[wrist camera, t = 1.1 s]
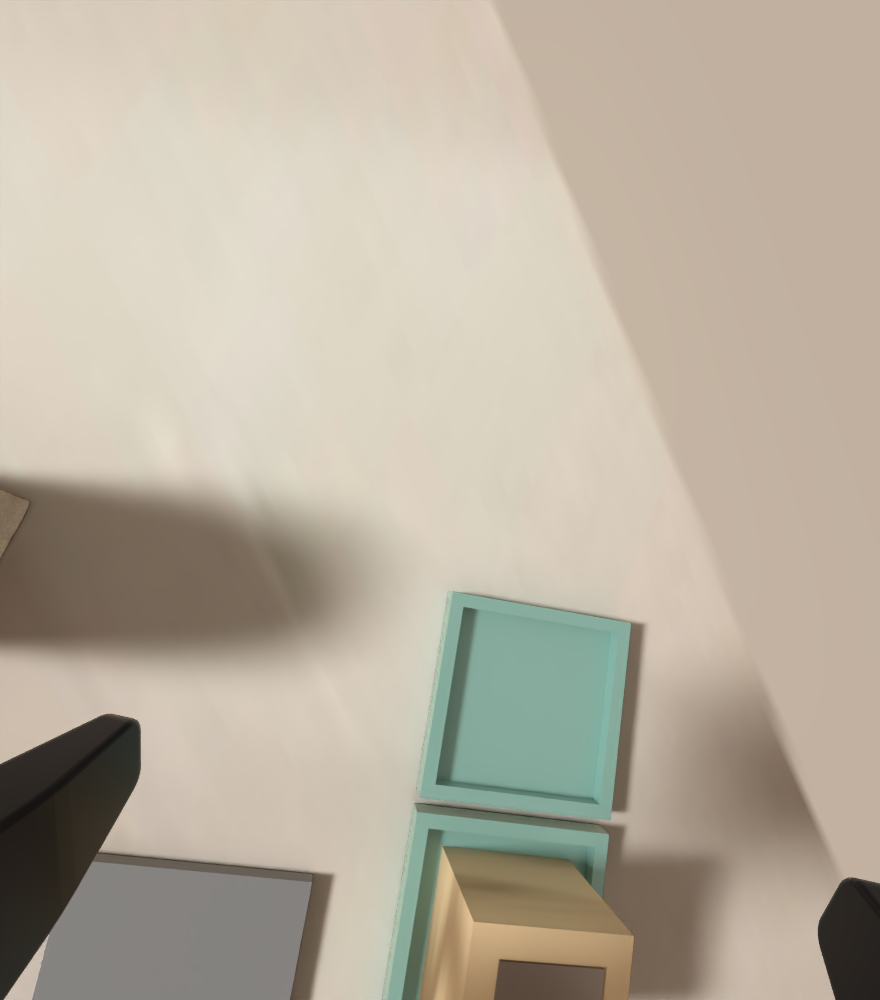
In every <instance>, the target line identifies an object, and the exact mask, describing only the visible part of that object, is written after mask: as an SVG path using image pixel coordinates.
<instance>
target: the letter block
mask: <svg viewBox="0 0 880 1000" xmlns="http://www.w3.org/2000/svg"><path fill="white" fill-rule="evenodd" d="M633 943H634V935H633V934H632V933H631V932H630V931H629V929H628V928H627V927H626V926H625V925H624V924H623V922H622V921H621V920H620V919H619V918H618V917H617V915H616V914H615V913H614V912H613V911H612V910H611V908H610V907H609V906H608V905H607V904H606V903H605V901H604V900H603V899H602V898H601V897H600V896H599V895H598V893H597V892H596V891H595V890H594V889H593V888H592V886H591V885H590V884H589V883H588V882H587V881H586V879H585V878H584V877H583V876H582V875H581V874H580V872H579V871H578V870H577V869H576V868H575V867H574V865H573V864H572V863H571V862H570V861H569V860H568V859H561V858H551V857H542V856H533V855H524V854H514V853H505V852H496V851H486V850H477V849H468V848H458V847H449V846H442V850H441V857H440V863H439V870H438V877H437V883H436V890H435V896H434V903H433V909H432V916H431V922H430V929H429V936H428V942H427V949H426V955H425V962H424V968H423V975H422V981H421V988H420V994H419V999H420V1000H628V997H629V986H630V975H631V965H632V954H633Z"/></svg>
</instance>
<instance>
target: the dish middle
mask: <svg viewBox="0 0 880 1000" xmlns="http://www.w3.org/2000/svg"><path fill="white" fill-rule="evenodd" d="M608 841H609V834H608V833H607V832H606V831H605V830H604V829H603V828H602V827H600V826H599V825H595V824H587V823H578V822H570V821H561V820H553V819H544V818H536V817H528V816H519V815H511V814H502V813H494V812H485V811H477V810H468V809H460V808H451V807H443V806H434V805H426V804H417V803H414V807H413V813H412V819H411V825H410V832H409V838H408V844H407V850H406V856H405V862H404V868H403V874H402V881H401V887H400V893H399V899H398V905H397V911H396V917H395V924H394V930H393V936H392V942H391V948H390V954H389V960H388V967H387V973H386V979H385V985H384V991H383V997H382V1000H420V999H419V994H420V988H421V981H422V975H423V968H424V962H425V955H426V949H427V942H428V936H429V929H430V922H431V916H432V909H433V903H434V896H435V890H436V883H437V877H438V870H439V863H440V857H441V850H442V846H449V847H458V848H468V849H477V850H486V851H496V852H505V853H514V854H524V855H533V856H542V857H551V858H561V859H568V860H569V861H570V862H571V863H572V864H573V865H574V867H575V868H576V869H577V870H578V871H579V872H580V874H581V875H582V876H583V877H584V878H585V879H586V881H587V882H588V883H589V884H590V885H591V886H592V888H593V889H594V890H595V891H596V892H597V893H598V895H599V896H600V897H601V898H602V899H603V889H604V880H605V870H606V860H607V851H608Z"/></svg>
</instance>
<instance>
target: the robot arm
mask: <svg viewBox="0 0 880 1000" xmlns="http://www.w3.org/2000/svg"><path fill="white" fill-rule="evenodd" d="M140 770H141V729H140V724H139V722H138V721H137V720H135V719H133V718H129V717H124V716H120V715H115V714H105V715H102V716H99V717H97V718H95V719H93V720H91V721H89V722H87V723H85V724H83V725H81V726H79V727H76V728H74V729H72V730H70V731H68V732H66V733H64V734H62V735H60V736H58V737H56V738H54V739H52V740H49V741H47V742H45V743H43V744H41V745H39V746H37V747H35V748H33V749H31V750H29V751H27V752H25V753H22V754H20V755H18V756H16V757H14V758H12V759H10V760H8V761H6V762H4V763H2V764H0V1000H4V998H5V997H6V995H7V994H8V993H9V991H10V990H11V988H12V987H13V985H14V984H15V982H16V981H17V979H18V978H19V977H20V975H21V974H22V972H23V971H24V969H25V968H26V966H27V965H28V964H29V962H30V961H31V959H32V958H33V956H34V955H35V953H36V952H37V951H38V949H39V948H40V946H41V945H42V943H43V942H44V940H45V939H46V937H47V936H48V935H49V933H50V932H51V930H52V928H53V927H54V925H55V924H56V922H57V921H58V919H59V918H60V916H61V915H62V913H63V912H64V910H65V908H66V907H67V905H68V903H69V902H70V900H71V898H72V897H73V895H74V893H75V892H76V890H77V888H78V886H79V885H80V883H81V881H82V879H83V878H84V876H85V874H86V872H87V871H88V869H89V867H90V865H91V864H92V862H93V860H94V858H95V857H96V855H97V853H98V851H99V850H100V848H101V846H102V844H103V843H104V841H105V839H106V837H107V836H108V834H109V832H110V830H111V829H112V827H113V825H114V823H115V822H116V820H117V818H118V816H119V814H120V813H121V811H122V809H123V807H124V806H125V804H126V802H127V800H128V799H129V797H130V795H131V793H132V792H133V790H134V788H135V786H136V784H137V781H138V778H139V775H140ZM818 939H819V945H820V949H821V952H822V956H823V959H824V962H825V966H826V969H827V973H828V976H829V979H830V983H831V986H832V990H833V993H834V996H835V1000H880V884H879V883H875V882H871V881H866V880H861V879H857V878H846V879H844V880H843V881H842V882H841V883H840V884H839V886H838V888H837V890H836V891H835V893H834V895H833V897H832V898H831V900H830V902H829V904H828V906H827V907H826V909H825V911H824V913H823V914H822V916H821V918H820V921H819V925H818Z"/></svg>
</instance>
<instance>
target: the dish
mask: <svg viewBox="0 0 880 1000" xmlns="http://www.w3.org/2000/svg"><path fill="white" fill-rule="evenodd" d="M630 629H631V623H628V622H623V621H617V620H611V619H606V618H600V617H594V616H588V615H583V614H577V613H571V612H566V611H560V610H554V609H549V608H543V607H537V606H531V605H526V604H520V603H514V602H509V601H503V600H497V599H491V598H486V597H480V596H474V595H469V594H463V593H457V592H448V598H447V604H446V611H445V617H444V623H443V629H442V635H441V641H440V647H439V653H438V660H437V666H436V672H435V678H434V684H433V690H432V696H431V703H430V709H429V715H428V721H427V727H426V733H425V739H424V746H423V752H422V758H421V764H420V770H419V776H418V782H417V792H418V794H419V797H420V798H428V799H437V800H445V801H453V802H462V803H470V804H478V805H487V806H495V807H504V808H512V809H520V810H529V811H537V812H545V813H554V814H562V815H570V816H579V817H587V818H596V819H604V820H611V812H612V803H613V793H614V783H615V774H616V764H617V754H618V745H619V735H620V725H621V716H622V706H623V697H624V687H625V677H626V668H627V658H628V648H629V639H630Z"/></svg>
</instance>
